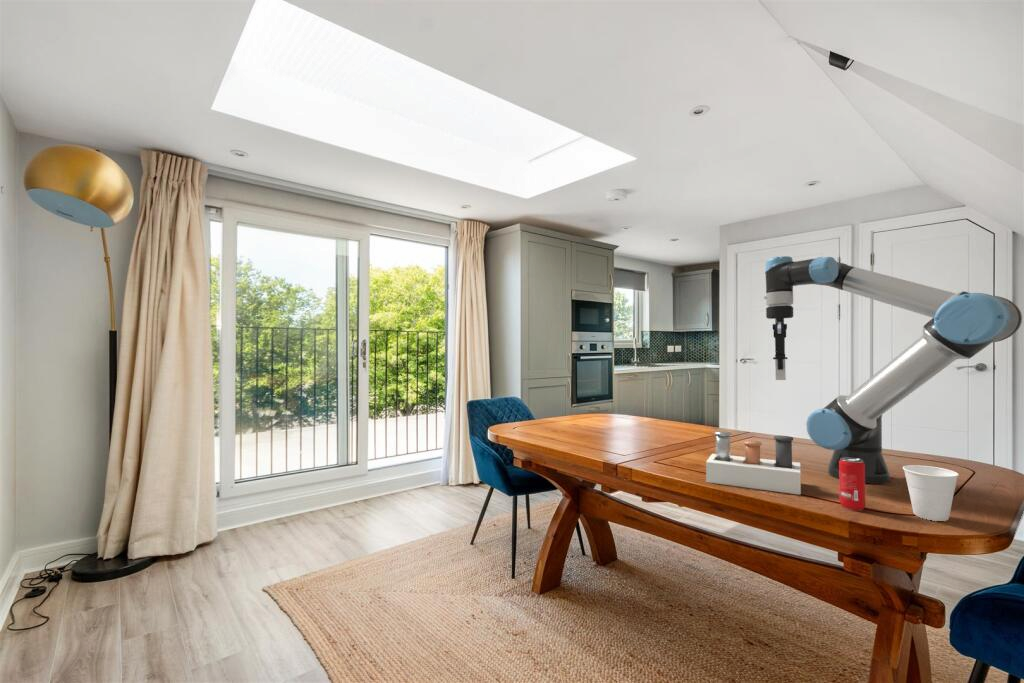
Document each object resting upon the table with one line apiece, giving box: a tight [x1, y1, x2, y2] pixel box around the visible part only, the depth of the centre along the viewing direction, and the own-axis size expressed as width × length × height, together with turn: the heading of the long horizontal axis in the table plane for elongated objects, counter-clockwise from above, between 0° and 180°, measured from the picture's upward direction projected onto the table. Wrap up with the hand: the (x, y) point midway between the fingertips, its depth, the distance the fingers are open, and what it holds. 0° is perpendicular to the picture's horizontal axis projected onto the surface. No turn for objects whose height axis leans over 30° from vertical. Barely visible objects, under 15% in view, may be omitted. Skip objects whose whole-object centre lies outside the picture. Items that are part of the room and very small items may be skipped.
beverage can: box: [838, 457, 866, 512], centre depth 117 cm, size 5×5×12 cm
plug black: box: [773, 435, 794, 469], centre depth 134 cm, size 5×5×10 cm
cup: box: [902, 464, 960, 522], centre depth 110 cm, size 10×10×11 cm
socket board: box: [705, 453, 802, 496], centre depth 138 cm, size 24×12×6 cm, turn 58°
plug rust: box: [742, 439, 762, 465], centre depth 138 cm, size 5×5×10 cm
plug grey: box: [713, 430, 733, 462], centre depth 142 cm, size 5×5×10 cm
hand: (780, 379), depth 149 cm, fingers closed
